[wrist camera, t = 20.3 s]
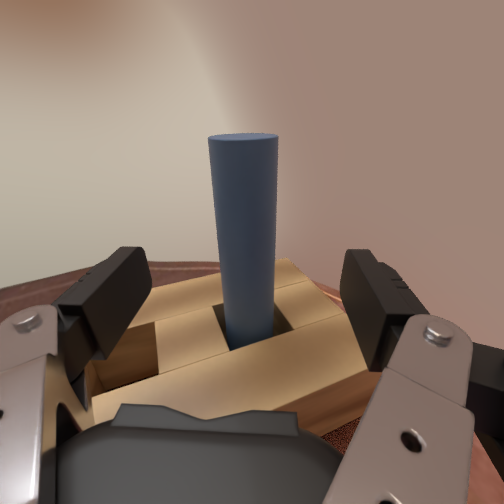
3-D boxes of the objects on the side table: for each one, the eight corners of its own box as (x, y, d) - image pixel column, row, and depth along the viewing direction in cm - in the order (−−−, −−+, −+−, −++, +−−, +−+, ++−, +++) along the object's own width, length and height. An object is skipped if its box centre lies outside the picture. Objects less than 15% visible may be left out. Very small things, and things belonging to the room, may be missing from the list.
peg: (261, 344, 21) (261, 132, 13) (279, 376, 19) (291, 136, 11) (224, 357, 20) (201, 135, 12) (237, 393, 18) (218, 140, 10)
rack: (55, 365, 20) (26, 316, 17) (284, 299, 26) (286, 257, 24) (-25, 610, 10) (-116, 577, 8) (373, 410, 16) (392, 357, 14)
